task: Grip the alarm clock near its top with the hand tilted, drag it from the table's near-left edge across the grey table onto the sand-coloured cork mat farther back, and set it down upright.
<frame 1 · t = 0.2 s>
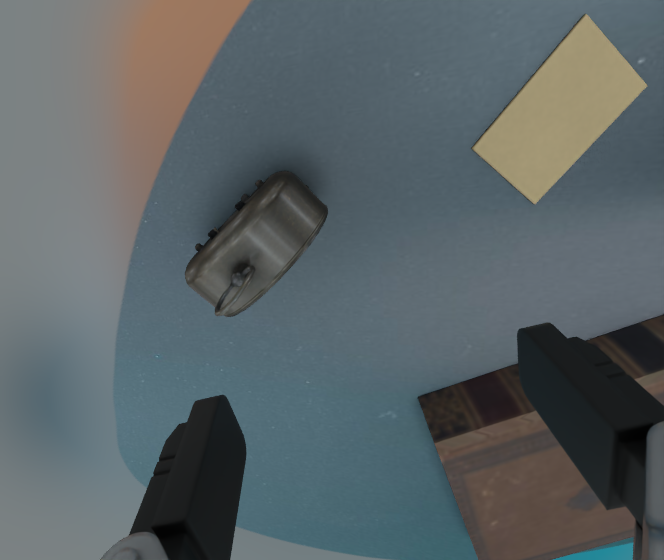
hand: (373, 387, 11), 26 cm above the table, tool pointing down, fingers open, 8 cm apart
alarm clock: (261, 213, 36), on the table
mat: (556, 117, 34), on the table
book: (555, 431, 50), on the table
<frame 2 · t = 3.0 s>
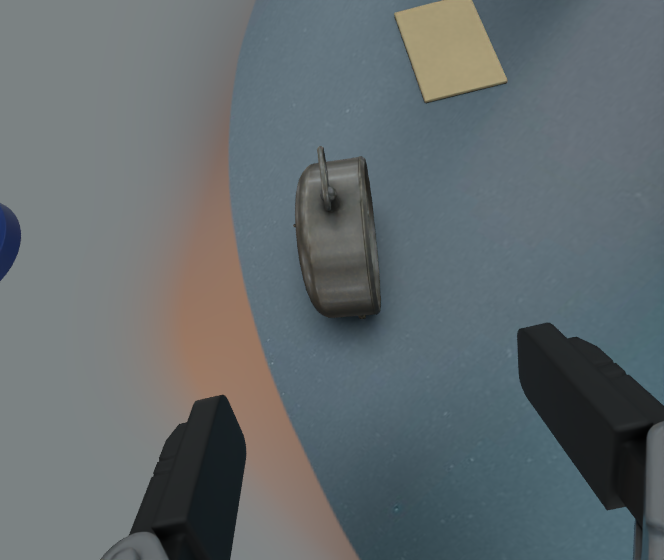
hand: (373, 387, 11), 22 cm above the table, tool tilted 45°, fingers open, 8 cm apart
alarm clock: (347, 271, 36), on the table
mat: (447, 47, 42), on the table
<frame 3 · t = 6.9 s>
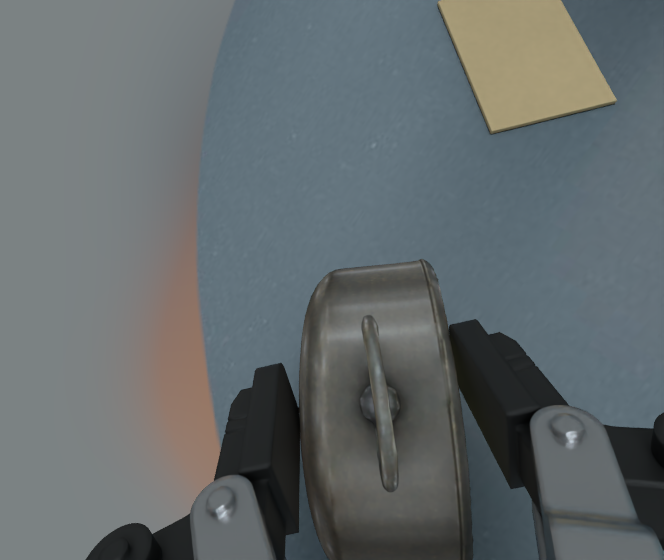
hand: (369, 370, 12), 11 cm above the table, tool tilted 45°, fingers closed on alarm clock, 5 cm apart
alarm clock: (379, 409, 22), on the table, touching gripper
mat: (519, 50, 28), on the table
when the fingers open (11 cm above the table, at t = 13.3 s): alarm clock stays where it is, resting on mat.
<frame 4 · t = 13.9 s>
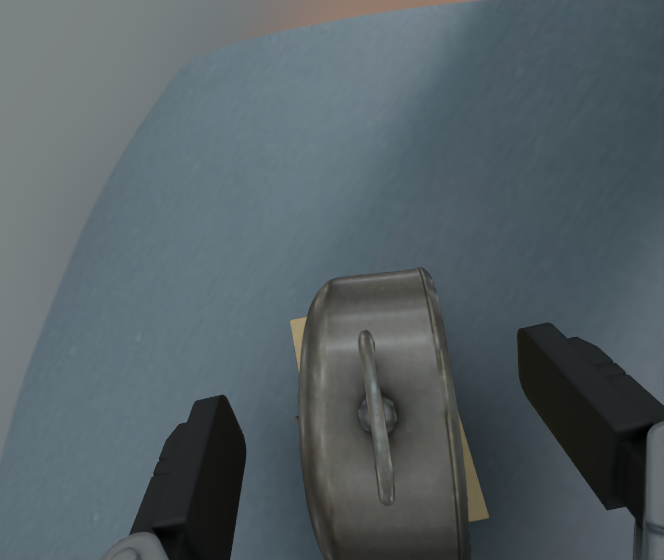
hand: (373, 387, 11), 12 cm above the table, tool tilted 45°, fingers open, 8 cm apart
alarm clock: (380, 414, 22), resting on mat
mat: (380, 409, 23), on the table
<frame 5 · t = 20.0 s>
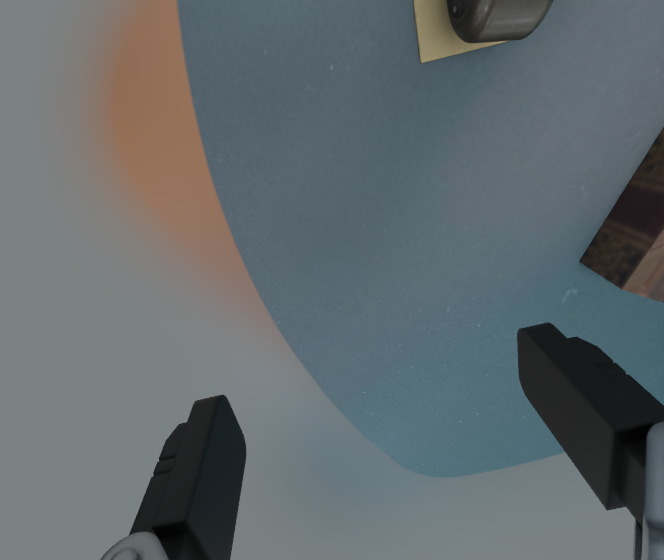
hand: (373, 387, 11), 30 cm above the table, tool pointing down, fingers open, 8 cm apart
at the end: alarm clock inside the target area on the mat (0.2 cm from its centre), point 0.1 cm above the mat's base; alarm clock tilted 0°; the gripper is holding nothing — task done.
